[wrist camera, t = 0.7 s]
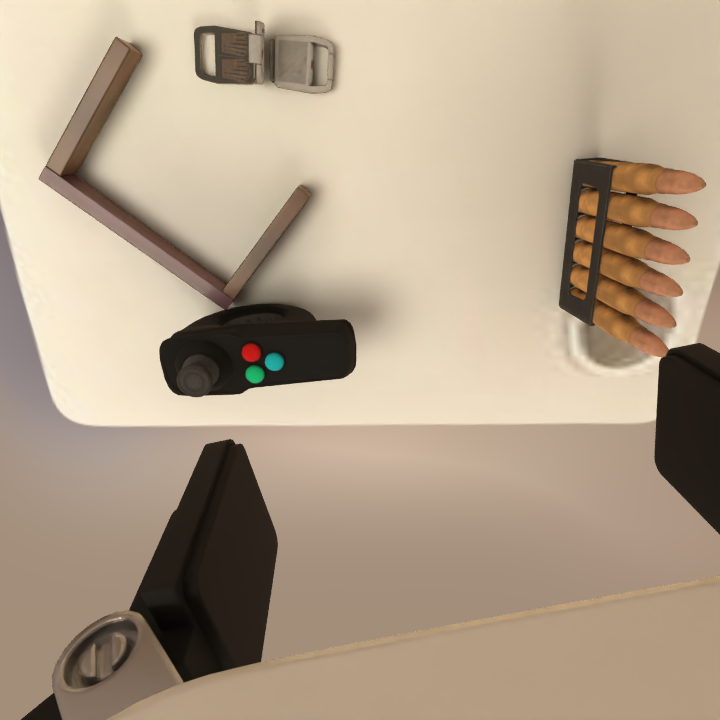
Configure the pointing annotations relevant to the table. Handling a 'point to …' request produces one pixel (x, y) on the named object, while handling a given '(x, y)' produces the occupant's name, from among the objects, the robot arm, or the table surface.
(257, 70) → the strap clip
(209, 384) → the controller
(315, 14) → the table surface
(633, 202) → the ammunition clip
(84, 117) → the frame
